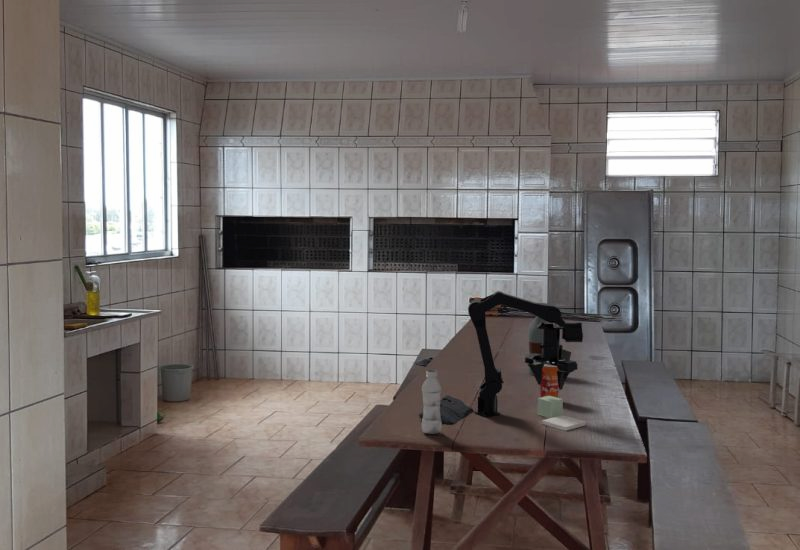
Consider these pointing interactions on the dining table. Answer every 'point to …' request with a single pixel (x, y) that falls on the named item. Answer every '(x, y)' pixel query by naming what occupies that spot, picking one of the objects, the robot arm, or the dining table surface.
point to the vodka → (535, 338)
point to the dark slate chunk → (452, 410)
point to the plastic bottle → (431, 403)
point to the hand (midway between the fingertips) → (550, 387)
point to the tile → (563, 422)
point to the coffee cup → (549, 381)
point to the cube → (550, 406)
